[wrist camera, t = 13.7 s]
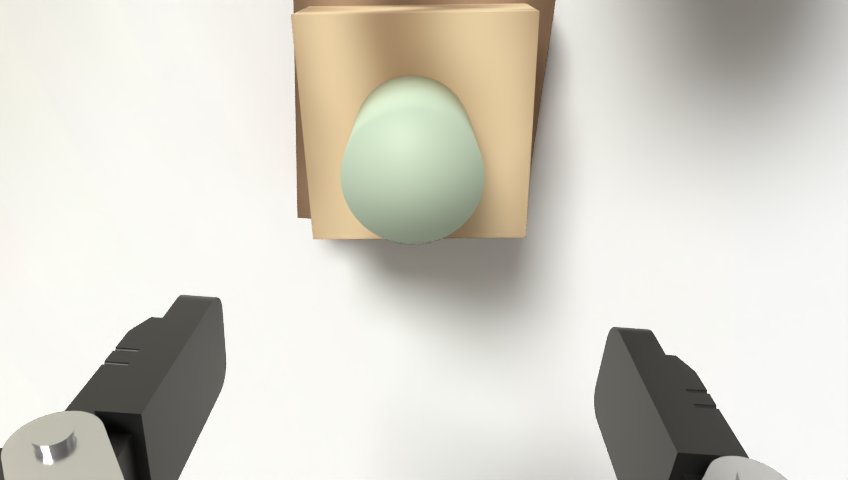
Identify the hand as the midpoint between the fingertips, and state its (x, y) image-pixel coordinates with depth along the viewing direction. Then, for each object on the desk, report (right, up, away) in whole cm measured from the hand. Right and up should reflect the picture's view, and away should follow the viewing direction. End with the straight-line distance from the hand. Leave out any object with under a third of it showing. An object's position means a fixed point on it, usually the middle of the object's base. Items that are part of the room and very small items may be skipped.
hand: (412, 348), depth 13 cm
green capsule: (0, +7, +14) cm, 16 cm away
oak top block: (0, +9, +18) cm, 20 cm away
